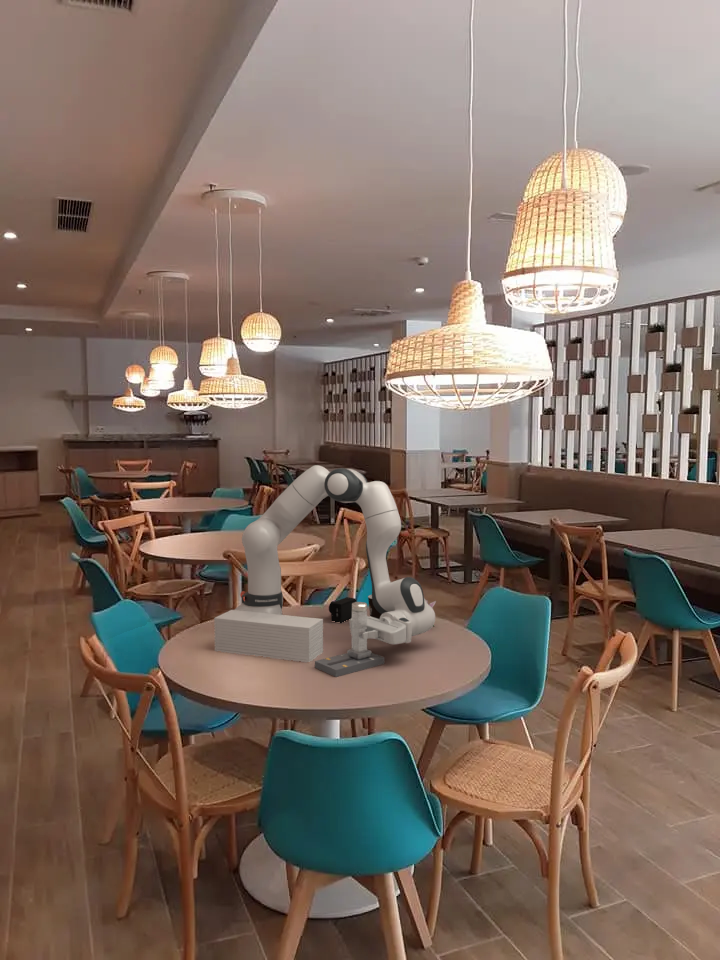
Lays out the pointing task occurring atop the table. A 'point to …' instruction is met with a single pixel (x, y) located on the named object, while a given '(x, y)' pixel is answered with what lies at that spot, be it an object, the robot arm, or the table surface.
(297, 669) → the table surface
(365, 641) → the lever
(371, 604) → the coffee mug
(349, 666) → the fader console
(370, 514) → the robot arm
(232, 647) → the stack of papers
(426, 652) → the table surface
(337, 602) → the digital camera
